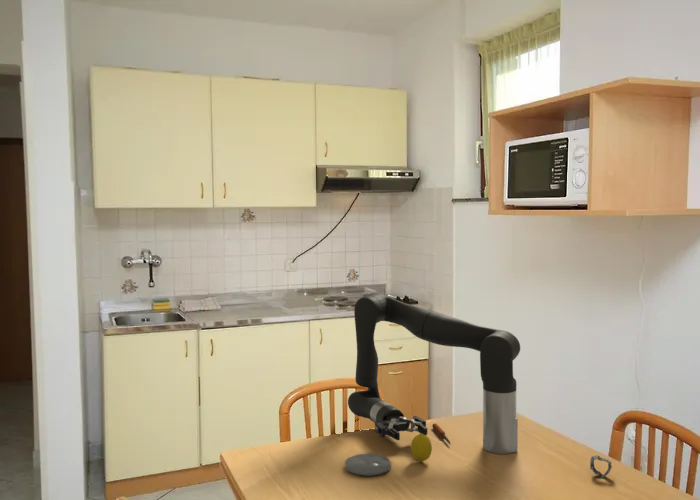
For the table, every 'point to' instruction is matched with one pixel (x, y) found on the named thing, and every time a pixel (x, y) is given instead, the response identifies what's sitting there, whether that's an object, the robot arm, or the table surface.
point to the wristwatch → (592, 465)
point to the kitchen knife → (440, 432)
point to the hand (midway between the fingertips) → (412, 434)
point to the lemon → (421, 447)
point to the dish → (368, 464)
